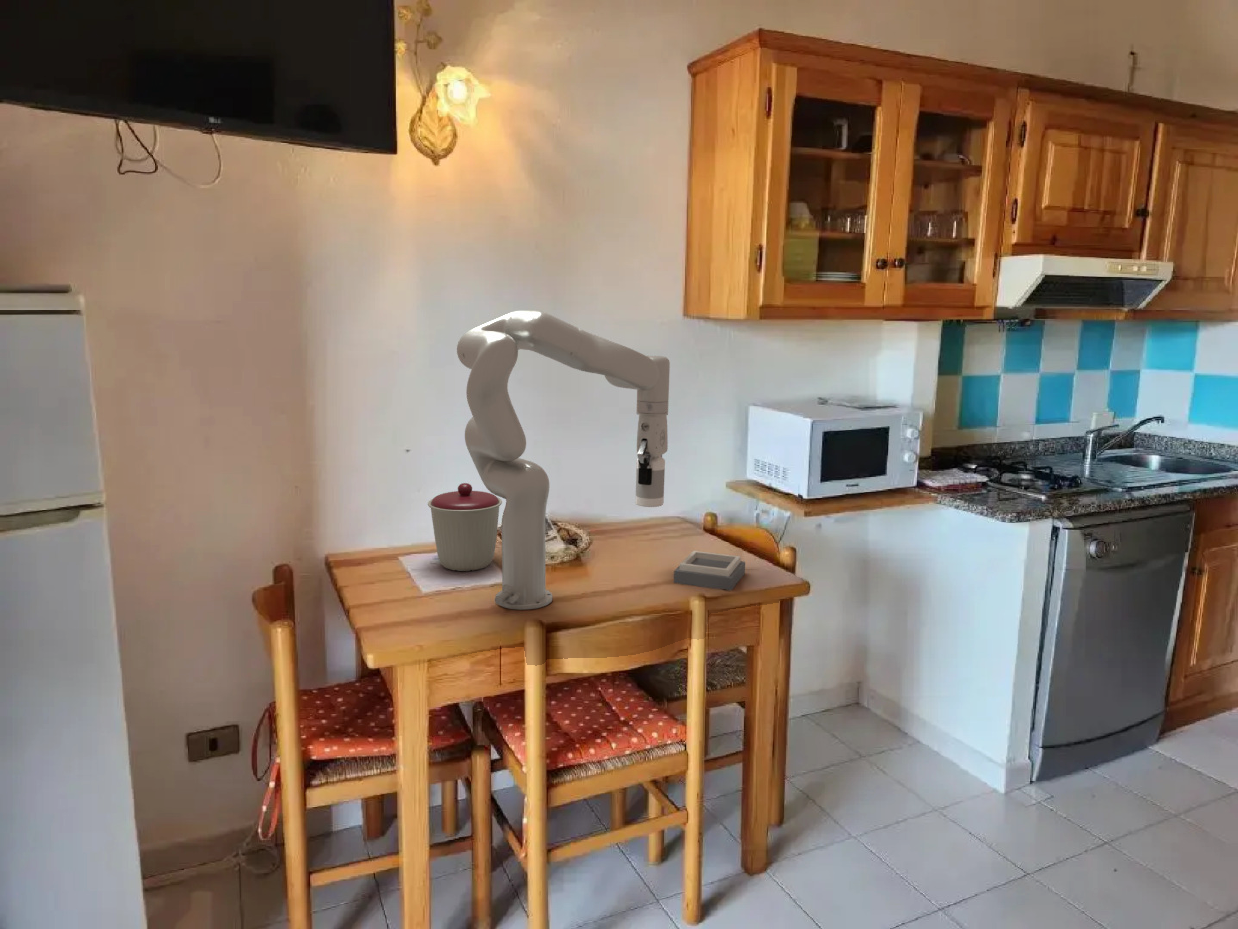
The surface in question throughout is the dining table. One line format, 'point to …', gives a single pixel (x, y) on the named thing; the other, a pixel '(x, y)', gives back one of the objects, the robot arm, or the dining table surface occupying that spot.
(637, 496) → the spray bottle
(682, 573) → the stand
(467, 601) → the dining table surface
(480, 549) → the canister
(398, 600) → the dining table surface
